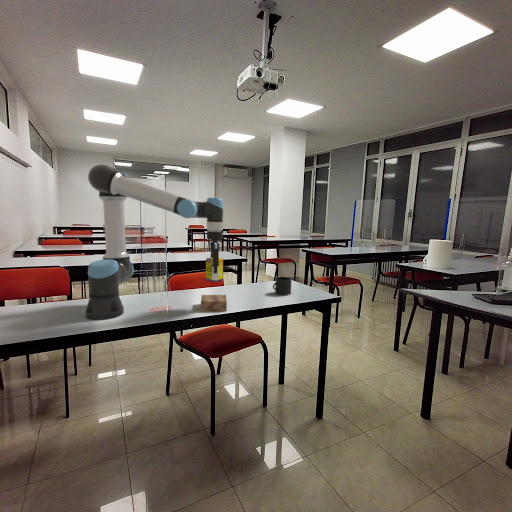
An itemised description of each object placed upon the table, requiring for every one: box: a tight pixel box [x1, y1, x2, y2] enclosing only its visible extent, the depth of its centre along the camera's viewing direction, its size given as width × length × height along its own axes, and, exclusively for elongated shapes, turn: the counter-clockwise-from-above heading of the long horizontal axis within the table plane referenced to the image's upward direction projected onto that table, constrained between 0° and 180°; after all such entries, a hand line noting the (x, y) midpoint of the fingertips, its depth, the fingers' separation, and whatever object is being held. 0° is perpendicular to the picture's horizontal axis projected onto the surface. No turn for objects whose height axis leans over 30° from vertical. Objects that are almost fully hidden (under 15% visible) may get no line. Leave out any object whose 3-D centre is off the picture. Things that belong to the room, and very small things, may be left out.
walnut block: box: [200, 294, 228, 312], centre depth 147 cm, size 12×12×5 cm
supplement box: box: [205, 256, 224, 283], centre depth 145 cm, size 6×6×11 cm
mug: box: [272, 276, 292, 296], centre depth 177 cm, size 9×12×9 cm
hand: (214, 277), depth 145 cm, fingers closed on supplement box, 8 cm apart
